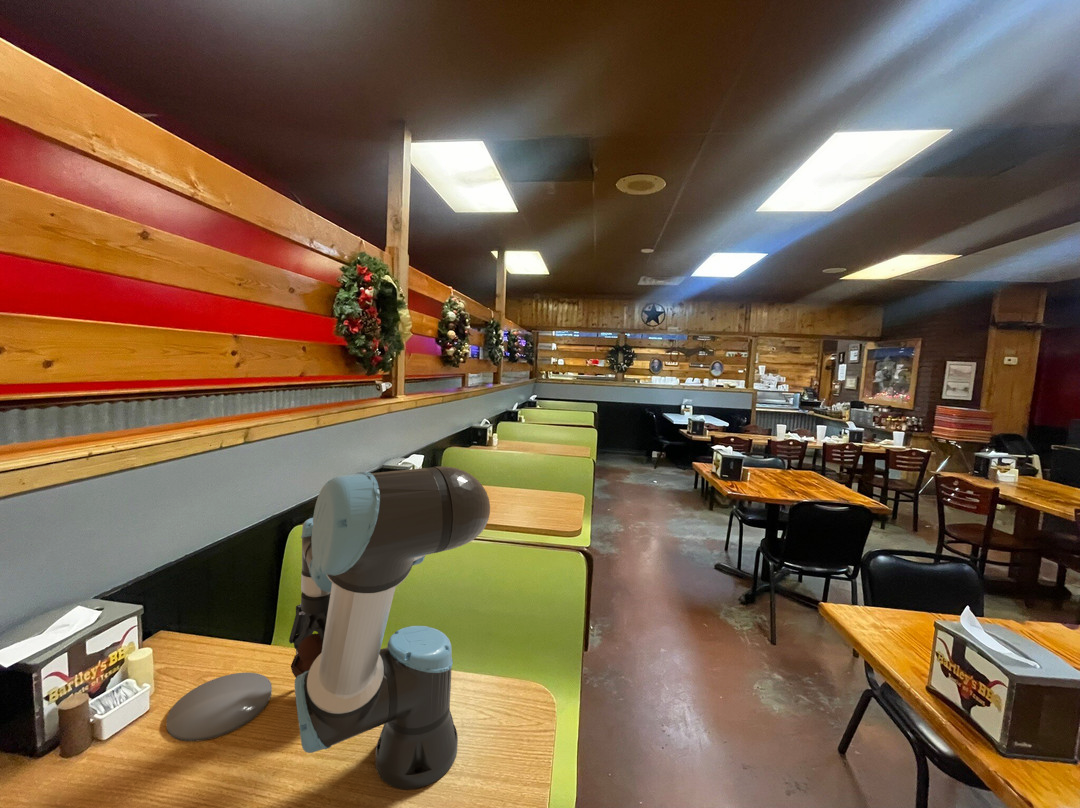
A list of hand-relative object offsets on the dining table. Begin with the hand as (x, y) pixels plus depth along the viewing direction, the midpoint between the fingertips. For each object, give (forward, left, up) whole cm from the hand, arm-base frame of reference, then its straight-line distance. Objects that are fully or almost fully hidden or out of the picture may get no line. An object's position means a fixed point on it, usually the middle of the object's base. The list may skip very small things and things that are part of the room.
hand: (319, 685), depth 97 cm
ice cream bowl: (0, 0, -3) cm, 3 cm away
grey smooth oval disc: (+15, +12, -3) cm, 19 cm away
